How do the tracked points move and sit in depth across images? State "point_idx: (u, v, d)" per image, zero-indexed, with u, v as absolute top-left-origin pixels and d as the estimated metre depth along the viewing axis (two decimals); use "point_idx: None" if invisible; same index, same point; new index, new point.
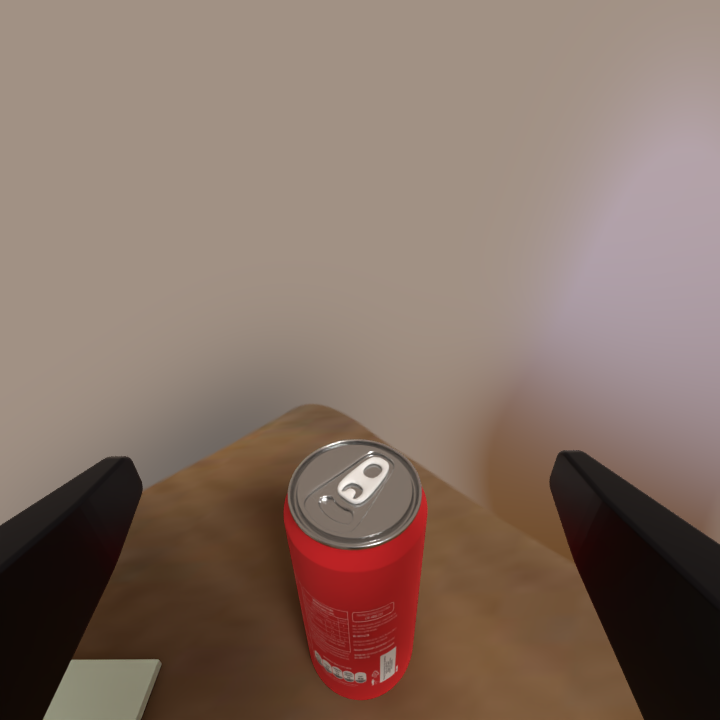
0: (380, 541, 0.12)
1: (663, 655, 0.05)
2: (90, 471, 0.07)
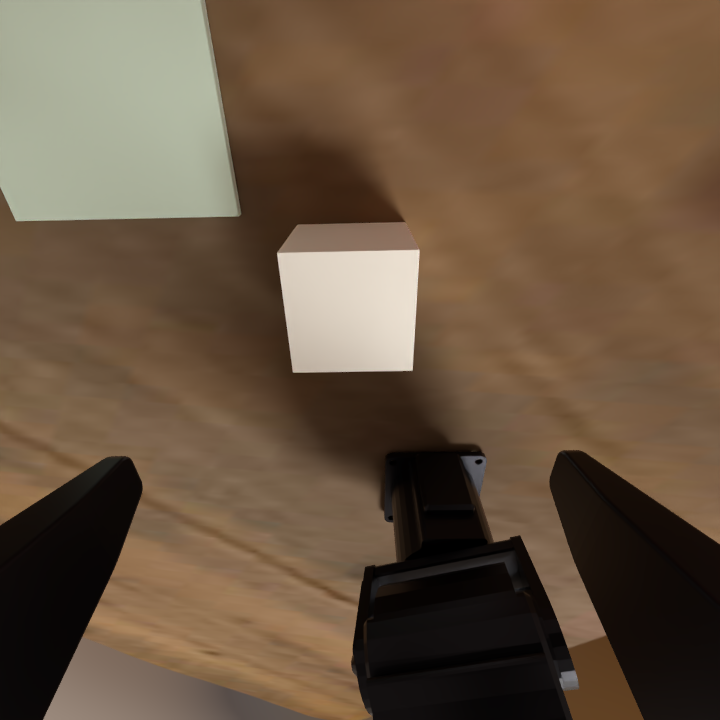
0: None
1: (663, 655, 0.05)
2: (90, 472, 0.07)
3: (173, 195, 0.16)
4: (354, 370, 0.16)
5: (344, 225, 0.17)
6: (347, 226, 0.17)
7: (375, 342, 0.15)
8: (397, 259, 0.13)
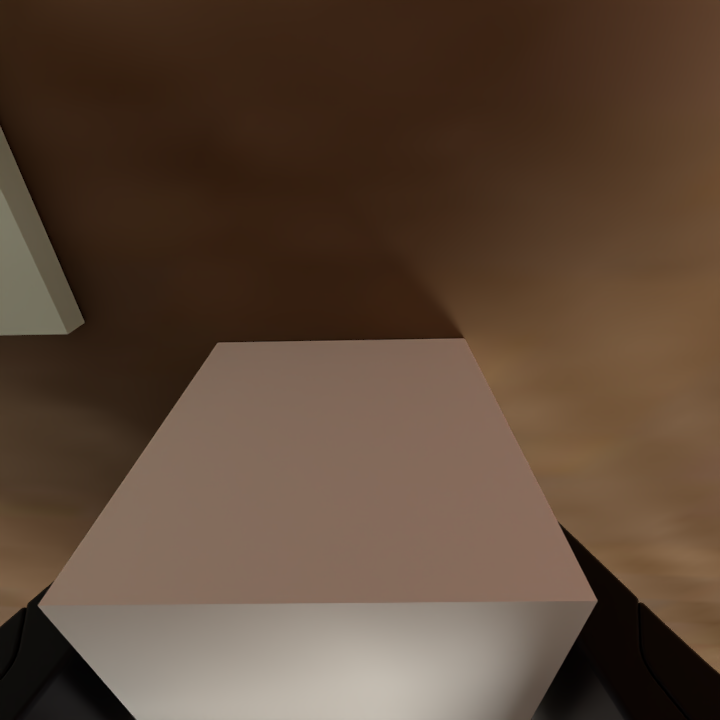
0: None
1: None
2: None
3: None
4: None
5: (323, 354, 0.07)
6: (330, 360, 0.07)
7: None
8: (504, 619, 0.04)
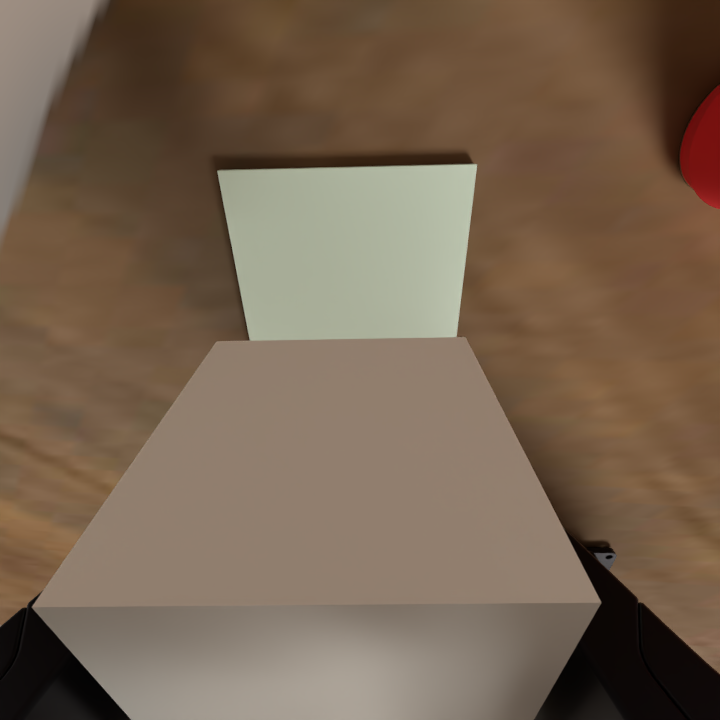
0: None
1: None
2: None
3: None
4: None
5: (323, 353, 0.07)
6: (330, 359, 0.07)
7: None
8: (506, 621, 0.03)
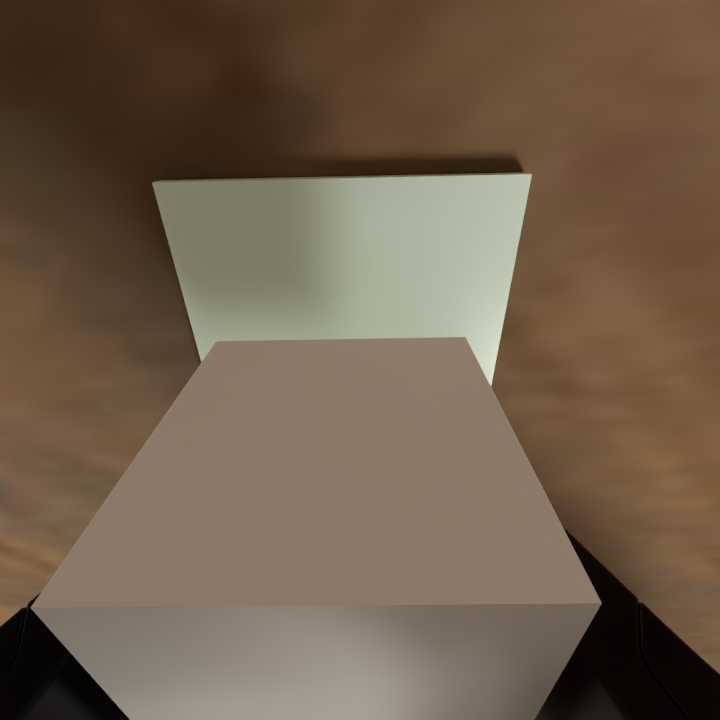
0: None
1: None
2: None
3: None
4: None
5: (323, 353, 0.07)
6: (329, 359, 0.07)
7: None
8: (506, 622, 0.03)
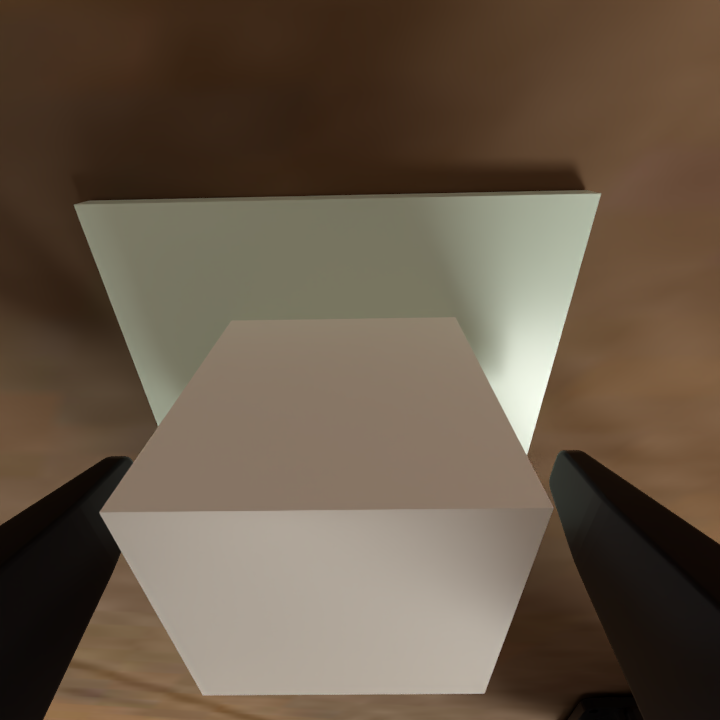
0: None
1: (663, 655, 0.05)
2: (90, 471, 0.07)
3: None
4: (347, 693, 0.07)
5: (327, 330, 0.08)
6: (334, 335, 0.08)
7: (398, 659, 0.06)
8: (479, 526, 0.04)
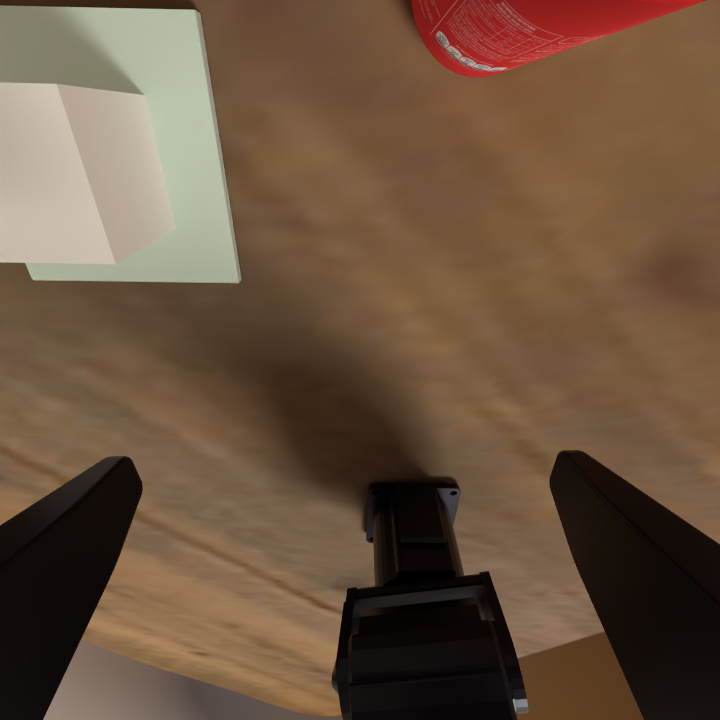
0: None
1: (663, 655, 0.05)
2: (90, 471, 0.07)
3: (180, 263, 0.18)
4: (43, 261, 0.13)
5: None
6: None
7: (53, 222, 0.12)
8: (33, 97, 0.10)
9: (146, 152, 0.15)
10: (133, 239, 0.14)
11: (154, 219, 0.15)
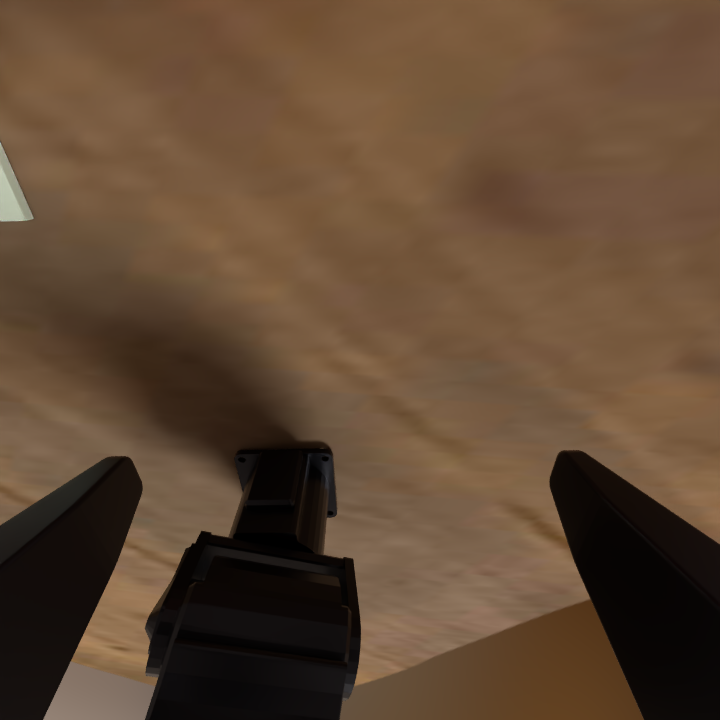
0: None
1: (663, 655, 0.05)
2: (90, 471, 0.07)
3: None
4: None
5: None
6: None
7: None
8: None
9: None
10: None
11: None
